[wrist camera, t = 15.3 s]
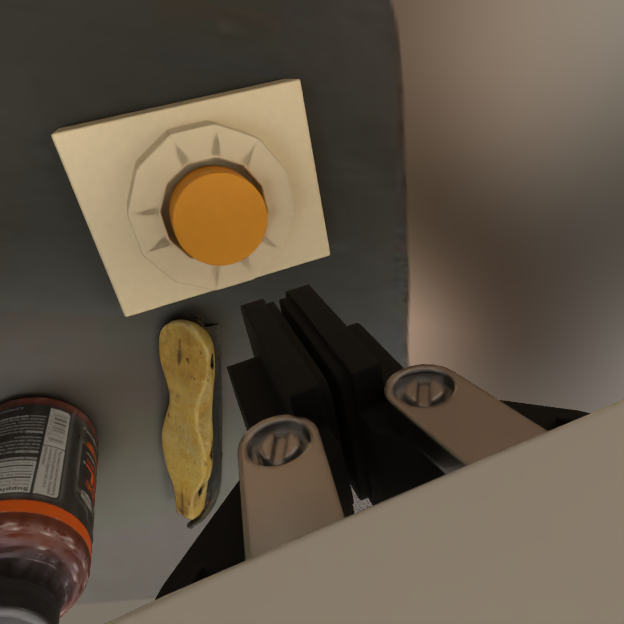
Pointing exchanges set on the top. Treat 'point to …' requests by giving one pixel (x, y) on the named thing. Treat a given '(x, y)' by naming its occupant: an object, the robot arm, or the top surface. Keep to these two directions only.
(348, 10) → the top surface
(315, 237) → the button box
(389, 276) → the top surface
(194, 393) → the tan elongated lumpy piece
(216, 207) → the button
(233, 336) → the top surface
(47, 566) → the supplement bottle
